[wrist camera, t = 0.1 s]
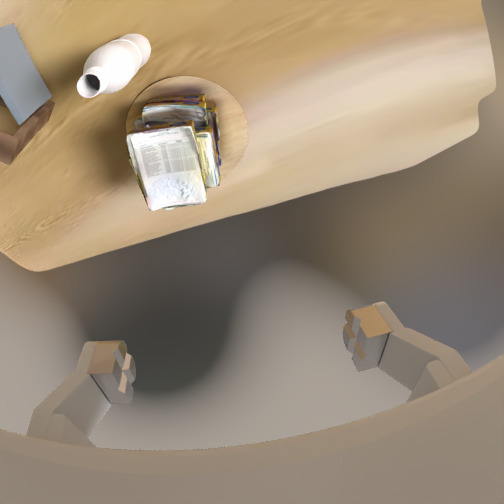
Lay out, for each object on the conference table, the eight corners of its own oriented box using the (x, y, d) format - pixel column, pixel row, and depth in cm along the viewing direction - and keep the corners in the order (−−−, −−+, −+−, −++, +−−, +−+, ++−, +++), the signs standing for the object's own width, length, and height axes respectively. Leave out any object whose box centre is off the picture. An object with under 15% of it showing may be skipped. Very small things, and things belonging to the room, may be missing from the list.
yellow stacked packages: (127, 180, 62) (113, 231, 51) (125, 73, 44) (100, 101, 33) (234, 183, 68) (244, 234, 57) (256, 80, 50) (275, 110, 39)
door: (13, 23, 27) (-22, 35, 19) (52, 96, 42) (24, 120, 34) (8, 28, 27) (-28, 41, 19) (46, 100, 42) (19, 125, 34)
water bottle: (157, 58, 43) (129, 99, 27) (122, 73, 44) (75, 124, 27) (146, 26, 38) (106, 43, 21) (109, 41, 38) (51, 74, 22)
